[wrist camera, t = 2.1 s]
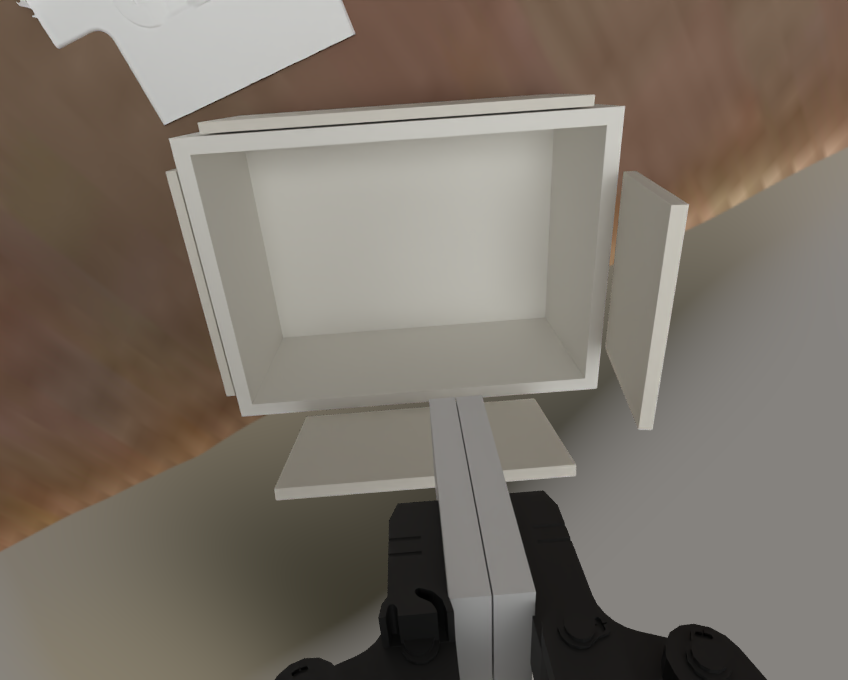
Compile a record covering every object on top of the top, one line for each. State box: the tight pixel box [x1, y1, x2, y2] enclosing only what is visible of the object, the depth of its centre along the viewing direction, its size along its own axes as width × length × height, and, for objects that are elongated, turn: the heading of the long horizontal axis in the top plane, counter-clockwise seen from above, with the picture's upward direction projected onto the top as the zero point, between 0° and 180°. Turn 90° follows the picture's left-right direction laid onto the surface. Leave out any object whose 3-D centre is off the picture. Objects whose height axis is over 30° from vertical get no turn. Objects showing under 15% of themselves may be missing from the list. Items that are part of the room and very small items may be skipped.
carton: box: [166, 94, 625, 417], centre depth 33 cm, size 23×17×10 cm
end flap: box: [605, 171, 689, 430], centre depth 24 cm, size 8×10×1 cm
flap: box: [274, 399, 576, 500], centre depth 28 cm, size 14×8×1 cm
